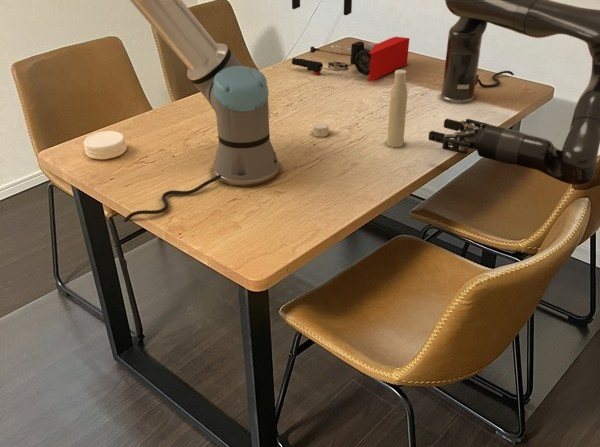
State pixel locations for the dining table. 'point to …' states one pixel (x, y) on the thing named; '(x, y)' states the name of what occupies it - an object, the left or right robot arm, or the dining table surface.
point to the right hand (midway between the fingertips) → (437, 128)
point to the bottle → (397, 110)
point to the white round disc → (105, 145)
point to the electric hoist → (366, 58)
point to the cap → (320, 129)
